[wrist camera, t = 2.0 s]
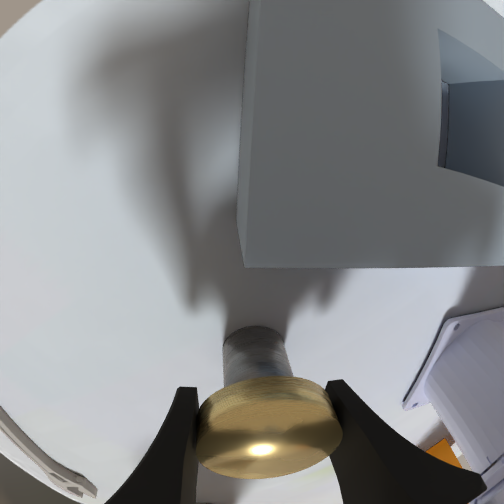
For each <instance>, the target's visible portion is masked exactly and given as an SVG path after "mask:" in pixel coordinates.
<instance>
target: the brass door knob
mask: <svg viewBox="0 0 504 504" xmlns="http://www.w3.org/2000/svg"><path fill="white" fill-rule="evenodd" d="M223 374H224V388H222V389H220V390H219V391H217V392H215V393H214V394H212V395H211V396H210V397H208V398H207V399H206V400H205V401H204V402H203V404H202V405H201V407H200V409H199V411H198V414H197V437H196V456H197V458H198V460H199V461H200V463H201V464H202V465H203V466H205V467H206V468H207V469H209V470H211V471H213V472H215V473H218V474H221V475H225V476H229V477H234V478H243V479H264V478H273V477H279V476H284V475H288V474H292V473H295V472H298V471H301V470H304V469H306V468H308V467H311V466H313V465H315V464H317V463H318V462H320V461H322V460H323V459H325V458H326V457H328V456H329V455H330V454H331V453H332V452H333V451H334V450H335V449H336V448H337V447H338V445H339V444H340V442H341V440H342V436H343V431H342V428H341V426H340V423H339V421H338V418H337V416H336V413H335V410H334V408H333V405H332V403H331V400H330V398H329V395H328V393H327V392H326V391H325V390H324V389H323V388H322V387H321V386H320V385H318V384H316V383H314V382H312V381H310V380H307V379H303V378H298V377H293V373H292V370H291V367H290V363H289V360H288V357H287V353H286V350H285V347H284V343H283V340H282V338H281V337H280V335H279V334H278V333H277V332H275V331H274V330H272V329H270V328H267V327H262V326H250V327H245V328H242V329H239V330H237V331H235V332H234V333H232V334H231V335H230V336H229V337H228V338H227V339H226V341H225V343H224V345H223Z"/></svg>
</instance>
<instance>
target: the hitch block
mask: <svg viewBox="0 0 504 504" xmlns="http://www.w3.org/2000/svg"><path fill="white" fill-rule="evenodd" d="M441 80H442V81H444V82H446V83H448V84H449V129H448V144H447V155H446V165H445V168H442V167H439V166H437V164H438V155H439V143H440V129H441ZM236 223H237V229H238V234H239V240H240V246H241V251H242V257H243V262H244V268H425V267H474V266H504V18H503V17H502V16H501V15H500V14H498V13H497V12H496V11H495V10H494V9H493V8H491V7H490V6H489V5H488V4H486V3H485V2H484V1H483V0H250V4H249V16H248V29H247V42H246V55H245V70H244V85H243V100H242V116H241V133H240V151H239V171H238V191H237V213H236Z"/></svg>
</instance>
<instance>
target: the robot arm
mask: <svg viewBox="0 0 504 504" xmlns="http://www.w3.org/2000/svg"><path fill="white" fill-rule="evenodd" d="M325 391H326V392H327V393H328V395H329V398H330V400H331V403H332V405H333V408H334V410H335V413H336V416H337V418H338V421H339V423H340V426H341V428H342V431H343V436H342V440H341V442H340V444H339V445H338V447H337V448H336V449H335V450H334V451H333V452H332V453H331V454H330V455H329V456H330V459H331V462H332V465H333V467H334V470H335V473H336V475H337V479H338V482H339V485H340V490H341V495H342V499H343V504H468V503H469V504H504V307H501V308H497V309H493V310H488V311H484V312H479V313H474V314H470V315H465V316H459V317H454V318H450V319H448V320H447V321H446V322H445V323H444V325H443V327H442V330H441V332H440V334H439V336H438V339H437V341H436V343H435V345H434V347H433V350H432V352H431V354H430V356H429V358H428V360H427V362H426V364H425V366H424V368H423V370H422V372H421V373H420V375H419V377H418V379H417V381H416V383H415V385H414V386H413V388H412V390H411V392H410V393H409V395H408V397H407V398H406V400H405V402H404V403H403V406H402V407H403V409H404V410H405V411H406V410H410V409H413V408H416V407H419V406H422V405H425V404H428V403H431V404H432V406H433V407H434V409H435V410H436V412H437V414H438V415H439V417H440V418H441V420H442V421H443V423H444V424H445V426H446V428H447V429H448V431H449V432H450V434H451V435H452V437H453V439H454V440H455V442H456V444H457V445H458V447H459V449H460V450H461V452H462V453H463V455H464V457H465V459H466V460H467V462H468V464H469V465H470V467H471V468H472V470H473V471H469V470H465V469H462V468H459V467H456V466H454V465H451V464H449V463H447V462H444V461H442V460H440V459H438V458H436V457H434V456H432V455H430V454H428V453H427V452H425V451H423V450H421V449H420V448H418V447H417V446H415V445H414V444H412V443H411V442H409V441H408V440H406V439H405V438H404V437H402V436H401V435H400V434H398V433H397V432H396V431H395V430H393V429H392V428H391V427H390V426H389V425H388V424H386V423H385V422H384V421H383V420H382V419H381V418H380V417H379V416H378V415H377V414H376V413H375V412H374V411H373V410H372V409H371V408H370V407H369V406H368V405H367V404H366V403H365V402H364V401H363V400H362V399H361V398H360V397H359V396H358V395H357V394H356V393H355V392H354V391H353V390H352V389H351V388H350V387H349V386H348V385H347V383H346V382H345V381H344V380H343V379H341V380H333V381H328V382H327V385H326V388H325ZM198 411H199V403H198V394H197V387H179V388H177V391H176V394H175V397H174V400H173V402H172V405H171V407H170V410H169V412H168V414H167V416H166V418H165V420H164V422H163V424H162V426H161V428H160V430H159V432H158V434H157V436H156V438H155V439H154V441H153V443H152V444H151V446H150V448H149V449H148V451H147V453H146V454H145V456H144V457H143V459H142V460H141V462H140V463H139V464H138V466H137V467H136V468H135V470H134V471H133V473H132V474H131V475H130V476H129V478H128V479H127V480H126V481H125V482H124V484H123V485H122V486H121V487H120V488H119V489H118V490H117V492H116V493H115V494H114V495H113V496H112V497H111V498H110V499H109V500H108V501H107V502H106V503H104V504H196V484H197V473H198V463H199V460H198V458H197V456H196V437H197V414H198ZM483 474H484V475H483ZM482 475H483V476H482ZM481 476H482V477H481Z"/></svg>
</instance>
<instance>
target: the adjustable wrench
mask: <svg viewBox="0 0 504 504" xmlns="http://www.w3.org/2000/svg"><path fill="white" fill-rule="evenodd" d="M0 430H1V431H2V432H3V433H4V434H5V435H6V436H7V437H8V438H9V439H10V440H11V441H12V442H13V443H14V444H15V445H16V446H17V447H18V448H19V449H20V450H21V451H22V452H23V453H24V454H26V455H27V456H28V457H29V458H30V459H31V460H32V461H34V462H35V463H36V464H37V465H38V466H39V467H40V468H41V469H42V470H43V471H44V473H45V474H46V475H47V476H48V478H49V479H50V481H51V482H53V483H54V484H55V485H56V486H58V487H60V488H61V489H63V490H65V491H67V492H69V493H71V494H73V495H76V496H78V497H82V496H83V493H84V494H86V495H88V496H90V497H92V498H96V496H97V491H98V490H97V488H96V487H95V486H94V485H93V484H92V483H90V482H89V481H88V480H87V478H85V477H82V476H79V475H77V474H75V473H73V472H71V471H69V470H67V469H65V468H64V467H62V466H60V465H59V464H57V463H56V462H55V461H53V460H52V459H51V458H50V457H49V456H47V455H46V454H45V453H44V452H43V451H42V450H41V449H40V448H39V447H38V446H37V445H36V444H35V443H34V442H33V441H32V440H31V439H30V438H29V437H28V436H27V435H26V434H25V433H24V432H23V431H22V430H21V429H20V428H19V427H18V426H17V425H16V424H15V423H14V422H13V420H12V419H11V418H10V417H9V416H8V415H7V414H6V412H5V411H4V410H3V409H2V408H1V407H0Z"/></svg>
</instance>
